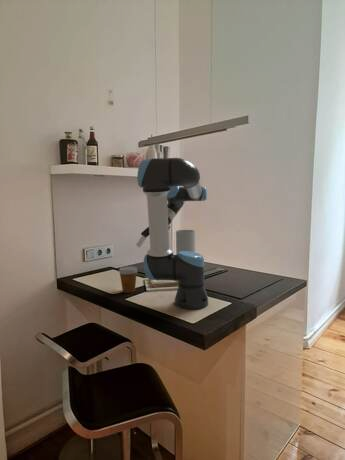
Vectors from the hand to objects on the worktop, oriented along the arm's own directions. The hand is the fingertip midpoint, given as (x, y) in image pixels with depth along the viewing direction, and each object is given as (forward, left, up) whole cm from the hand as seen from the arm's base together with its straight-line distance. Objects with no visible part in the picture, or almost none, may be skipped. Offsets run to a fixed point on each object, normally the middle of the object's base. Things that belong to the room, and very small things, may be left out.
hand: (144, 247), depth 165 cm
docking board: (+2, -11, -21) cm, 24 cm away
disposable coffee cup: (-6, +9, -21) cm, 24 cm away
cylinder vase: (+36, -29, -21) cm, 51 cm away
